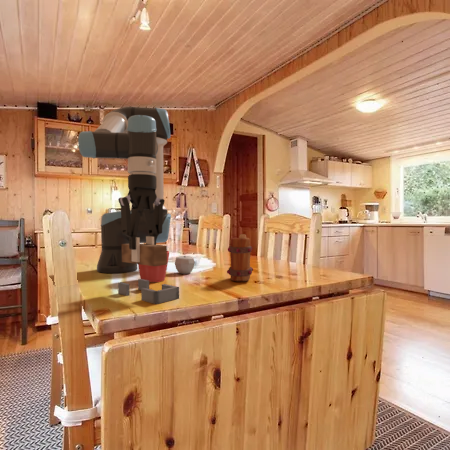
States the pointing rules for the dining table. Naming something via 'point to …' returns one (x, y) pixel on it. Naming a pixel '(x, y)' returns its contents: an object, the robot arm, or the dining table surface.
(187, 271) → the apple
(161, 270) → the flower pot
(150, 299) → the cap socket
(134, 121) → the robot arm
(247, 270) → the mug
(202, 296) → the dining table surface
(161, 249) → the brown rectangular block
